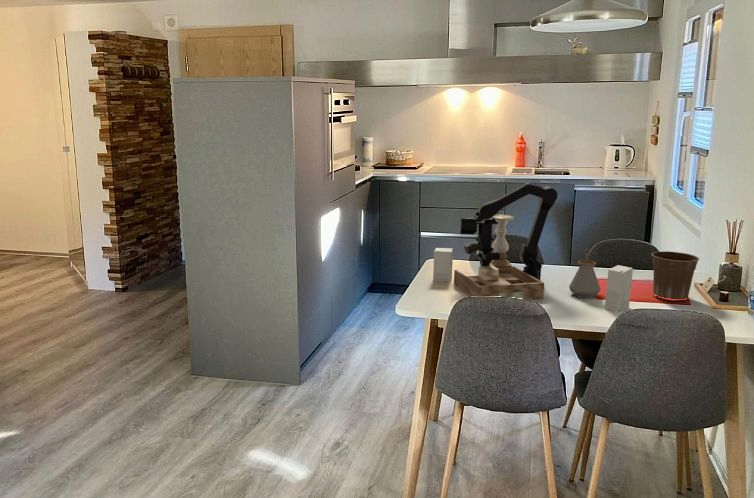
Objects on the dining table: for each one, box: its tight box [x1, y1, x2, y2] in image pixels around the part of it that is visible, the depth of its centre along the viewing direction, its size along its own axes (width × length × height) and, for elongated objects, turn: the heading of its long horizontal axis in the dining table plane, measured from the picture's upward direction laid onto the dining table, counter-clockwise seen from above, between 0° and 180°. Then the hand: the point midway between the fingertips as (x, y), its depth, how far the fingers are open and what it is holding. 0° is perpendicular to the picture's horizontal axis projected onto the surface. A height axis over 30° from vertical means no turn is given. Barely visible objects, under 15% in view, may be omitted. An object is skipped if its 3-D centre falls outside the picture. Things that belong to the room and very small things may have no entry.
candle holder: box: [489, 214, 515, 274], centre depth 288 cm, size 11×11×24 cm
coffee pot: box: [568, 248, 602, 299], centre depth 258 cm, size 21×12×15 cm, turn 162°
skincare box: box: [604, 264, 634, 313], centre depth 237 cm, size 8×6×15 cm
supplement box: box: [432, 247, 454, 283], centre depth 274 cm, size 7×7×13 cm
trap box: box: [453, 265, 545, 300], centre depth 259 cm, size 26×26×6 cm
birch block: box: [477, 265, 499, 280], centre depth 267 cm, size 6×6×4 cm
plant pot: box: [651, 250, 700, 299], centre depth 250 cm, size 16×16×16 cm
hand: (483, 272), depth 272 cm, fingers closed
